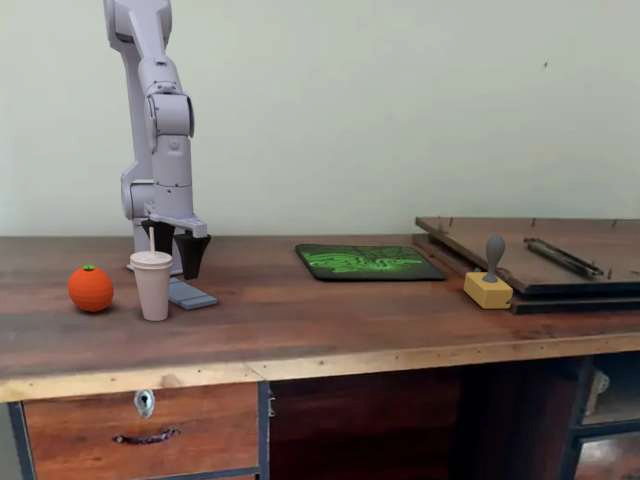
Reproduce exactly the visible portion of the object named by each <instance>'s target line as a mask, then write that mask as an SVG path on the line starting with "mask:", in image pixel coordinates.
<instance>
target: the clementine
mask: <svg viewBox="0 0 640 480" xmlns="http://www.w3.org/2000/svg"><path fill="white" fill-rule="evenodd" d="M67 291H68V296H69V298H70V300H71V302H72V303H73V304H74V305H75V306H77V307H78V308H79V309H81V310H83V311H86V312H91V313H92V312H99V311H103V310H104V309H105V308H107V307H108V306H109V305H110V304H111V303H112V300H113V297H114V295H115V294H114V293H115V288H114V284H113V282H112V279H111V278H110V276H109V275H108V273H106V272H105V271H103V270H102V269H100V268H98V267H95V266H94V265H92V264H85V265H84V266H81V267H79V268H78V269H76V270H75V271H74V272H72V274H71V275H70V277H69V278H68V282H67Z"/></svg>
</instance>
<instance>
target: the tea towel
mask: <svg viewBox="0 0 640 480" xmlns="http://www.w3.org/2000/svg"><path fill="white" fill-rule="evenodd" d="M168 301H170V302H172V303H174V304H175V305H178V306H180V307H182V308H183V309H185V310H187V311H189V310H192V309H197V308H198V309H199V308H202V307H207V306H211V305H216V304H218V298H216V297H214V296H212V295H210V294H208V293H206V292H204V291H202V290H201V289H198V288H196V287H194V286H192V285H190V284H188V283H186V282H184V281H183V280H180V279H178V278H176V277H170V283H169V298H168Z"/></svg>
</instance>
